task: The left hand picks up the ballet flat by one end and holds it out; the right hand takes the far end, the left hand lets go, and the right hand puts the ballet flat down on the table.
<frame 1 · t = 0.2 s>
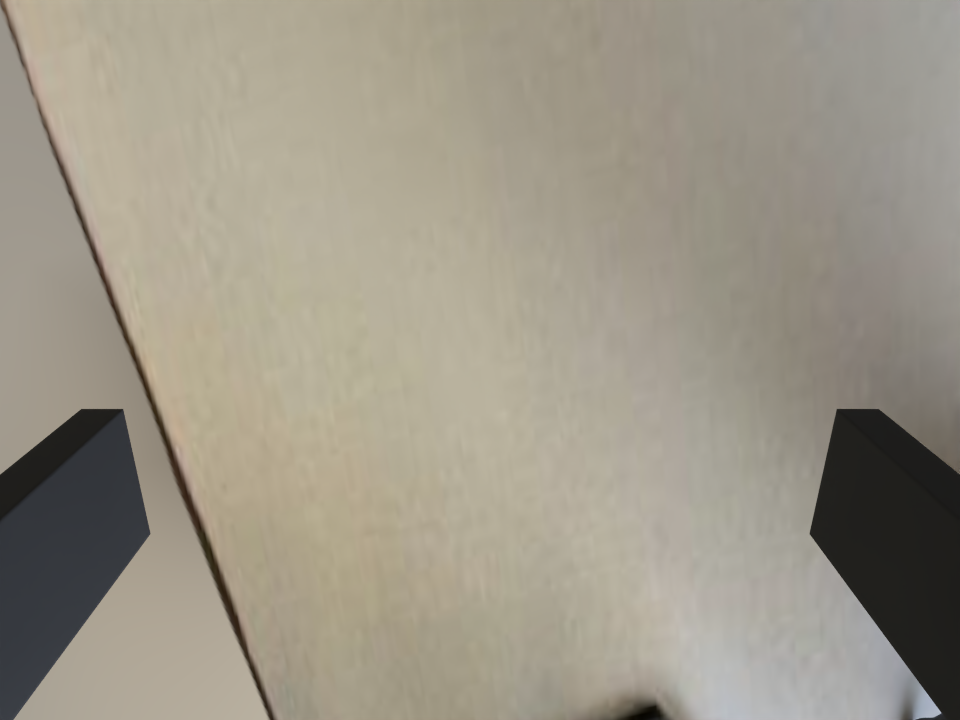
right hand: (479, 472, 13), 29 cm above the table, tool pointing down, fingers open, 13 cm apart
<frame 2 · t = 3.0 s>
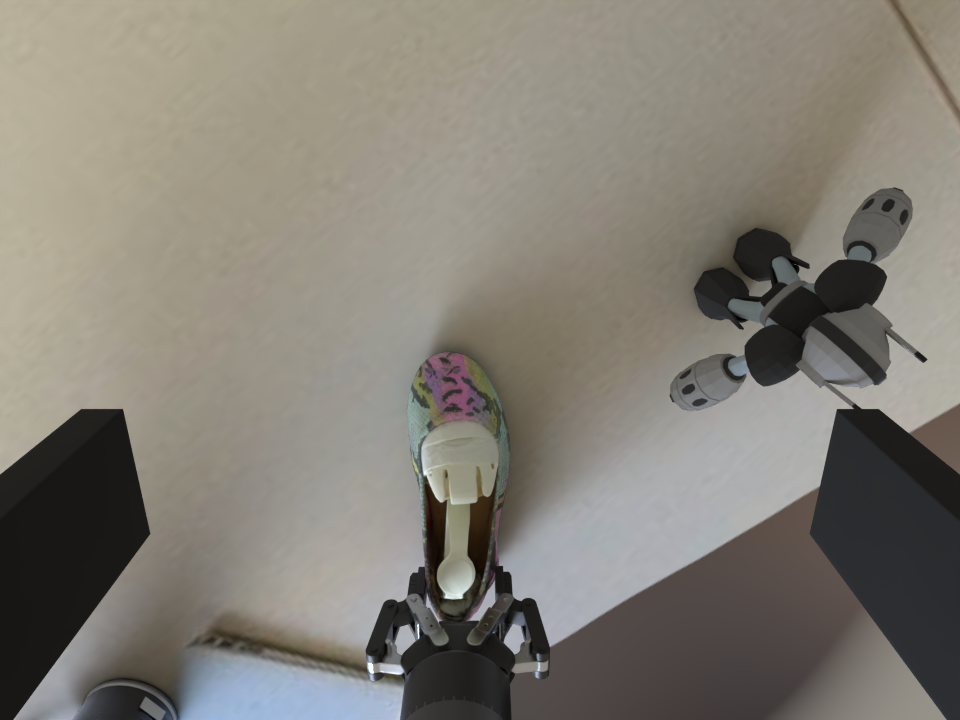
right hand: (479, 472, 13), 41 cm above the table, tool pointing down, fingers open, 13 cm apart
left hand: (461, 574, 60), fingers closed on ballet flat, 6 cm apart
ballet flat: (460, 474, 60), on the table, touching left hand
robot: (738, 272, 53), on the table
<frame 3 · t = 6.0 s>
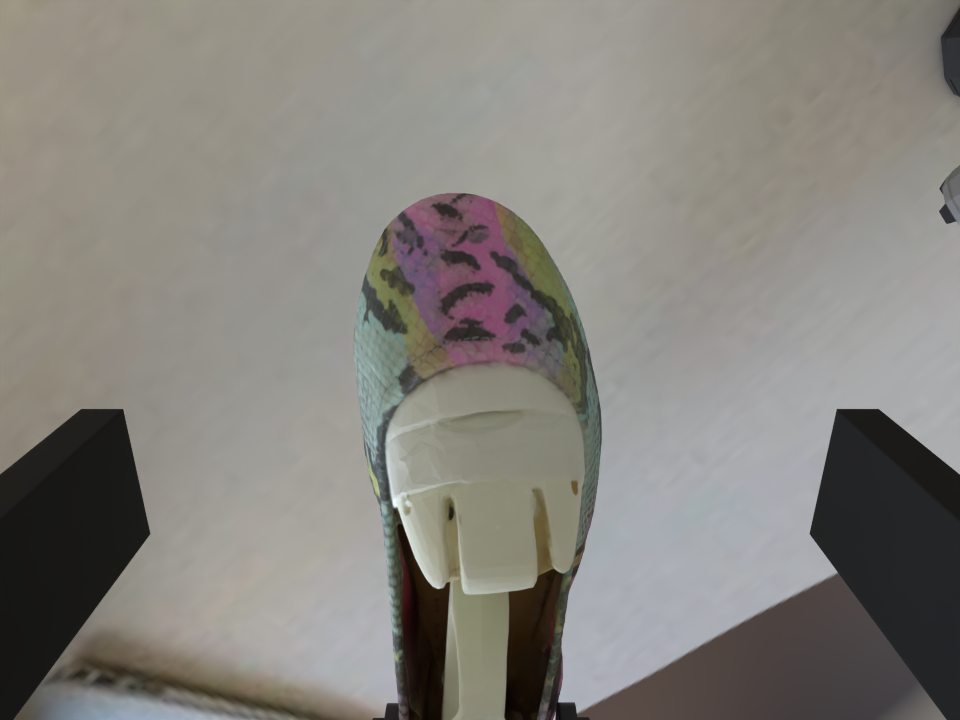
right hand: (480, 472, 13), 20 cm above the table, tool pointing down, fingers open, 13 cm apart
ballet flat: (481, 496, 27), point 8 cm above the table, touching left hand
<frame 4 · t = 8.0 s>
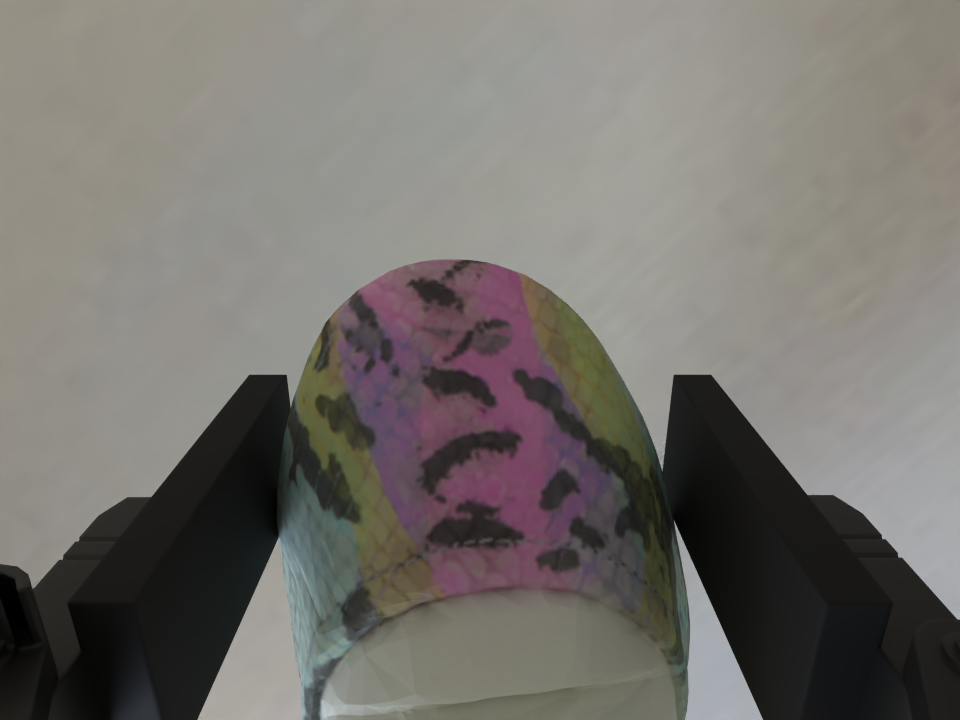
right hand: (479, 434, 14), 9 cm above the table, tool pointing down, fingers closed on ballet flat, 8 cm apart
ballet flat: (488, 698, 18), point 8 cm above the table, touching right hand, left hand
when the left hand's fingers open (12 cm above the table, at t = 9.1 s): ballet flat stays where it is, held by the right hand.
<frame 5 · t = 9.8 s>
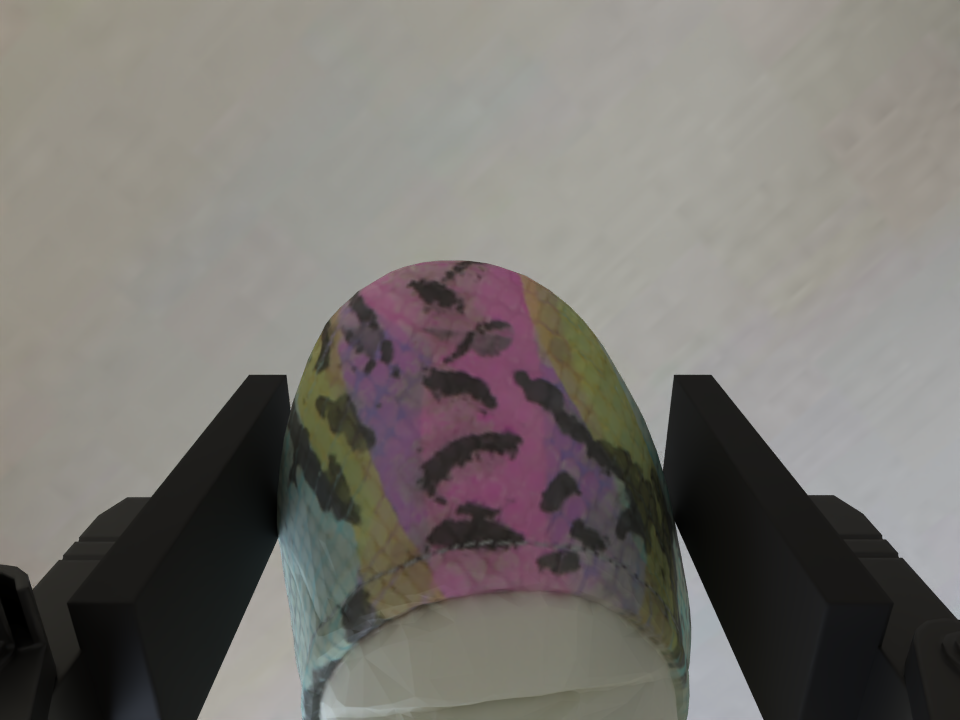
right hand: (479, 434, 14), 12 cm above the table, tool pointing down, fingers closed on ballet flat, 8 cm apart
ballet flat: (489, 700, 18), point 11 cm above the table, touching right hand
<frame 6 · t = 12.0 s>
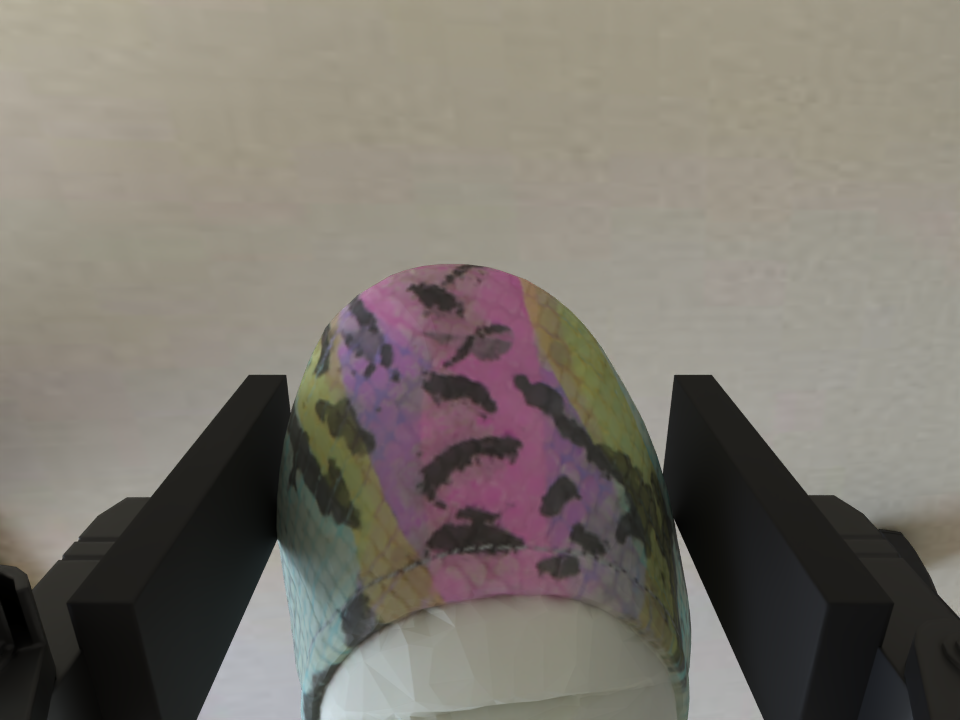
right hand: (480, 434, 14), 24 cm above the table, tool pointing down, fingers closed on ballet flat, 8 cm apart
ballet flat: (489, 702, 18), point 24 cm above the table, touching right hand
robot: (847, 557, 45), on the table
when the right hand's fingers open (2 cm above the table, at t = 15.9 s): ballet flat drops 1 cm, on the table.
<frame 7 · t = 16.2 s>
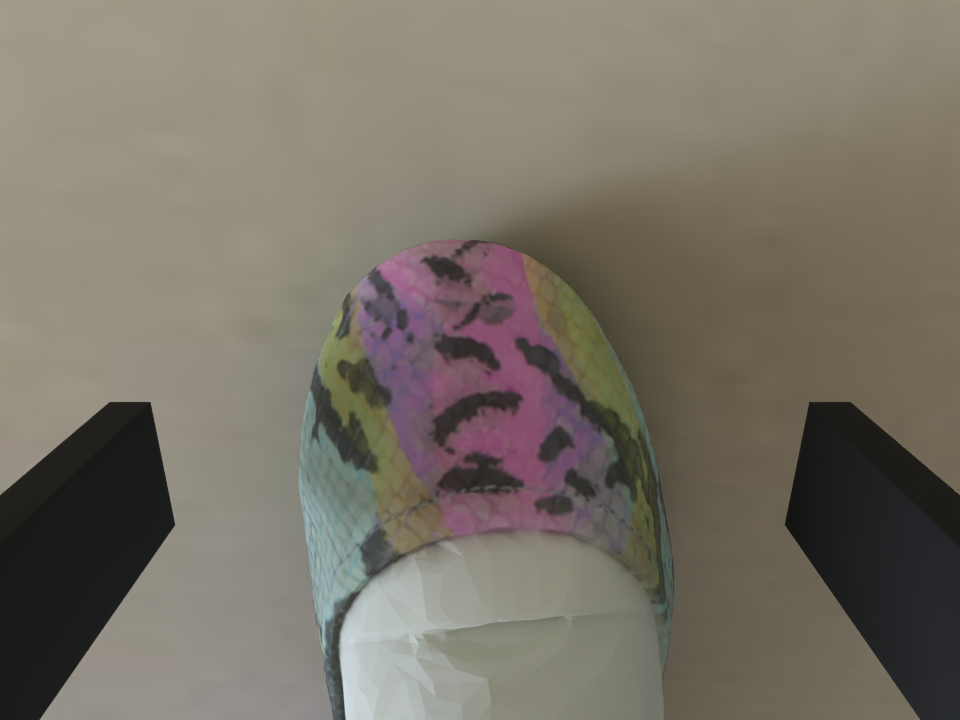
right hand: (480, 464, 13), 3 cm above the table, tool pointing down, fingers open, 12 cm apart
ballet flat: (488, 654, 19), on the table
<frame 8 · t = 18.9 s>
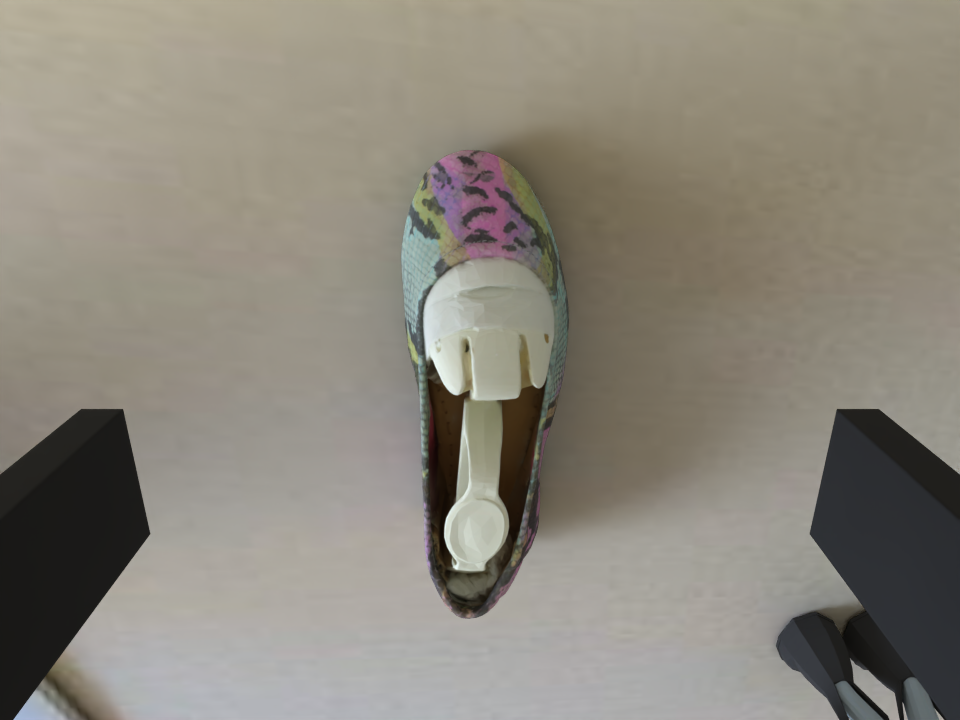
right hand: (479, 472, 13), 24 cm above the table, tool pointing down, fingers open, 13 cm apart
ballet flat: (484, 375, 38), on the table
robot: (837, 633, 45), on the table
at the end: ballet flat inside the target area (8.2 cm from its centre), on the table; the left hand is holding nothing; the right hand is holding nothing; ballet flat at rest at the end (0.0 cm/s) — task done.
